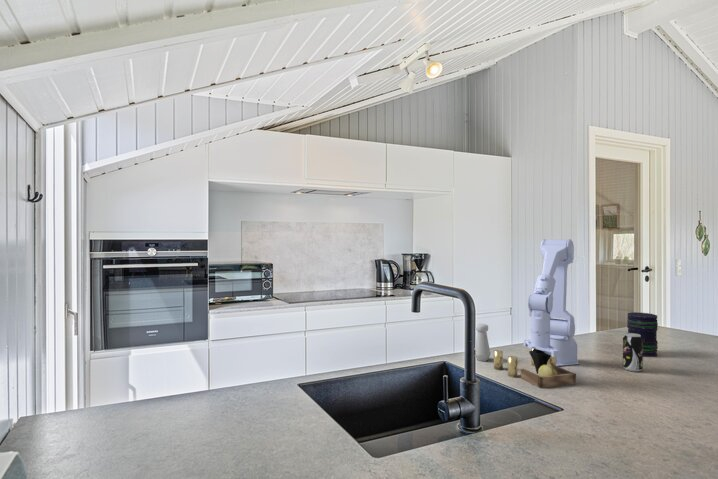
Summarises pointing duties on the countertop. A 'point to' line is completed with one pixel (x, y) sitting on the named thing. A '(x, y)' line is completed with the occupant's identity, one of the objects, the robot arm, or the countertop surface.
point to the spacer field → (515, 362)
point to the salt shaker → (482, 343)
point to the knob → (546, 371)
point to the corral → (549, 378)
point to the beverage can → (632, 352)
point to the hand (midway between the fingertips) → (540, 373)
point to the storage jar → (644, 331)
